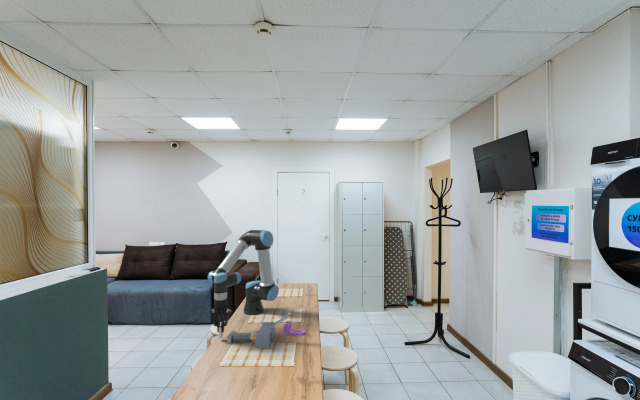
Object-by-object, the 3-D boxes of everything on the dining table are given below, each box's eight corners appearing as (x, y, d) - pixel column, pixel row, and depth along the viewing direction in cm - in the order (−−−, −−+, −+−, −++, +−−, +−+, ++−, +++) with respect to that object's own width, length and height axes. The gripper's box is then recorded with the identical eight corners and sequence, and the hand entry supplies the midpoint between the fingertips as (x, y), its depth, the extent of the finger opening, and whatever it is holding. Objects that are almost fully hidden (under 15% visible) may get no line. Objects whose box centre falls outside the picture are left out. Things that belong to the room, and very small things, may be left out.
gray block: (231, 337, 188) (231, 331, 188) (251, 337, 187) (251, 331, 187) (227, 343, 180) (226, 336, 180) (247, 344, 179) (247, 337, 179)
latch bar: (272, 327, 183) (270, 323, 184) (293, 314, 183) (291, 311, 183) (272, 328, 181) (269, 325, 181) (292, 316, 180) (290, 312, 180)
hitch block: (263, 334, 192) (263, 322, 192) (274, 334, 191) (274, 322, 191) (255, 347, 174) (255, 334, 174) (267, 348, 173) (267, 334, 173)
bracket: (283, 334, 191) (283, 323, 191) (285, 331, 197) (285, 320, 197) (303, 335, 190) (303, 324, 190) (305, 331, 195) (305, 321, 196)
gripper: (207, 300, 181) (207, 339, 181) (228, 300, 180) (228, 340, 180) (212, 296, 189) (213, 334, 188) (233, 297, 188) (233, 335, 187)
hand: (220, 337), depth 184 cm, fingers closed
